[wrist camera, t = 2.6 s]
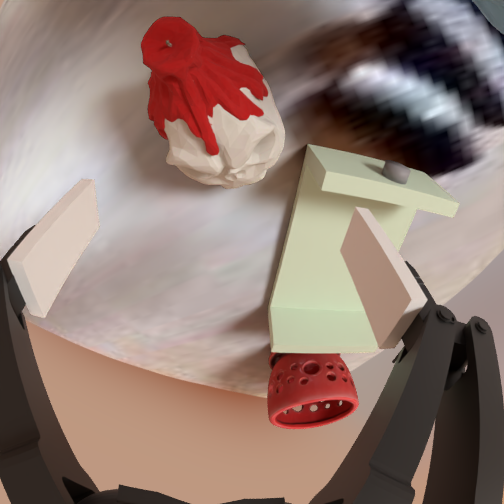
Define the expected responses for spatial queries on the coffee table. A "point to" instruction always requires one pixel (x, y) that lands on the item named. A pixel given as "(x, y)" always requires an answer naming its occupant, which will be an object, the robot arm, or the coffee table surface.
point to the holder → (339, 247)
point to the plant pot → (309, 389)
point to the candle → (210, 105)
